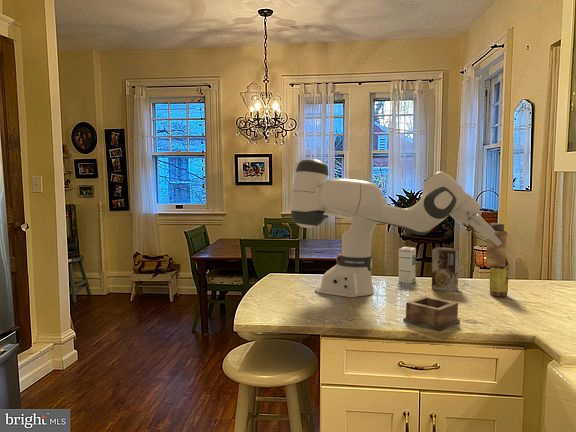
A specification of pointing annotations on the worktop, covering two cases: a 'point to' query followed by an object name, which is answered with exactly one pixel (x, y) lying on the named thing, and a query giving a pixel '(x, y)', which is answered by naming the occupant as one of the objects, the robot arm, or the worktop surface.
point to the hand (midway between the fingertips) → (498, 243)
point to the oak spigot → (497, 247)
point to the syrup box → (407, 264)
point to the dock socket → (432, 313)
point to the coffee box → (445, 268)
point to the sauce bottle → (499, 280)
